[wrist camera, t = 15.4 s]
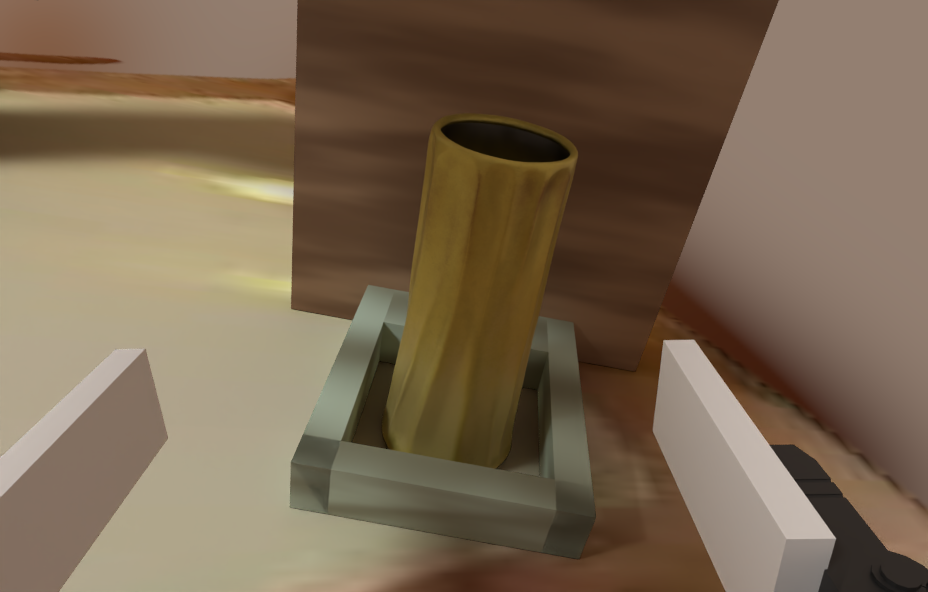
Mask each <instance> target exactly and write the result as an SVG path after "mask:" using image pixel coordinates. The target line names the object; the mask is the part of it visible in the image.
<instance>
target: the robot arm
mask: <svg viewBox="0 0 928 592" xmlns="http://www.w3.org/2000/svg"><path fill="white" fill-rule="evenodd" d="M653 433H654V435H655V437H656V440H657V442H658V444H659V446H660V448H661V451H662V453H663V455H664V457H665V459H666V462H667V464H668V466H669V468H670V470H671V473H672V475H673V477H674V479H675V481H676V484H677V486H678V488H679V490H680V492H681V495H682V497H683V499H684V501H685V503H686V506H687V508H688V510H689V512H690V514H691V517H692V519H693V521H694V523H695V525H696V528H697V530H698V532H699V534H700V536H701V539H702V541H703V543H704V545H705V547H706V550H707V552H708V554H709V556H710V558H711V561H712V563H713V565H714V567H715V569H716V572H717V574H718V576H719V578H720V580H721V583H722V585H723V587H724V589H725V591H726V592H928V569H927V568H926V567H924V566H923V565H921V564H919V563H917V562H916V561H914V560H912V559H910V558H908V557H906V556H904V555H900V554H897V553H894V552H891V551H888V550H887V549H886V548H885V546H884V545H883V544H882V543H881V541H880V540H879V539H878V538H877V536H876V535H875V534H874V533H873V531H872V530H871V529H870V528H869V526H868V525H867V524H866V523H865V521H864V520H863V519H862V517H861V516H860V515H859V514H858V512H857V511H856V510H855V509H854V507H853V506H852V505H851V504H850V502H849V501H848V500H847V499H846V498H843V494H842V492H841V491H840V490H839V489H838V487H837V486H836V485H835V484H834V482H831V479H830V477H829V476H828V475H827V473H826V472H825V471H824V470H823V468H822V467H821V466H820V465H819V463H818V462H817V461H816V460H815V459H813V458H812V457H810V456H809V455H808V454H806V453H805V452H803V451H802V450H800V449H799V448H798V447H796V446H795V445H769V444H768V443H767V441H766V440H765V438H764V437H763V436H762V434H761V433H760V431H759V430H758V429H757V427H756V426H755V424H754V423H753V422H752V420H751V419H750V417H749V416H748V415H747V413H746V412H745V410H744V409H743V408H742V406H741V405H740V403H739V402H738V401H737V399H736V398H735V396H734V395H733V394H732V392H731V391H730V389H729V388H728V387H727V385H726V384H725V382H724V381H723V380H722V378H721V377H720V375H719V374H718V373H717V371H716V370H715V368H714V367H713V366H712V364H711V363H710V361H709V360H708V359H707V357H706V356H705V354H704V353H703V352H702V350H701V349H700V347H699V346H698V345H697V343H696V342H695V340H664V341H663V349H662V357H661V365H660V374H659V382H658V390H657V398H656V407H655V415H654V423H653ZM167 439H168V436H167V432H166V428H165V424H164V420H163V416H162V412H161V408H160V404H159V400H158V396H157V392H156V388H155V384H154V381H153V377H152V373H151V369H150V365H149V361H148V357H147V353H146V349H115V350H114V351H113V352H112V353H111V354H110V355H109V356H108V357H107V358H105V359H104V360H103V361H102V362H101V363H100V364H99V365H98V366H97V367H96V368H95V369H94V370H93V371H92V372H91V373H90V374H88V375H87V376H86V377H85V378H84V379H83V380H82V381H81V382H80V383H79V384H78V385H77V386H76V387H75V388H74V389H72V390H71V391H70V392H69V393H68V394H67V395H66V396H65V397H64V398H63V399H62V400H61V401H60V402H59V403H58V404H57V405H55V406H54V407H53V408H52V409H51V410H50V411H49V412H48V413H47V414H46V415H45V416H44V417H43V418H42V419H41V420H39V421H38V422H37V423H36V424H35V425H34V426H33V427H32V428H31V429H30V430H29V431H28V432H27V433H26V434H25V435H24V436H22V437H21V438H20V439H19V440H18V441H17V442H16V443H15V444H14V445H13V446H12V447H11V448H10V449H9V450H8V451H6V452H5V453H4V454H3V455H2V456H1V457H0V592H59V591H60V589H61V588H62V586H63V585H64V584H65V582H66V581H67V579H68V578H69V577H70V575H71V574H72V572H73V571H74V570H75V568H76V567H77V565H78V564H79V563H80V561H81V560H82V558H83V557H84V556H85V554H86V553H87V551H88V550H89V548H90V547H91V546H92V544H93V543H94V541H95V540H96V539H97V537H98V536H99V534H100V533H101V532H102V530H103V529H104V527H105V526H106V525H107V523H108V522H109V520H110V519H111V518H112V516H113V515H114V513H115V512H116V511H117V509H118V508H119V506H120V505H121V504H122V502H123V501H124V499H125V498H126V497H127V495H128V494H129V492H130V491H131V489H132V488H133V487H134V485H135V484H136V482H137V481H138V480H139V478H140V477H141V475H142V474H143V473H144V471H145V470H146V468H147V467H148V466H149V464H150V463H151V461H152V460H153V459H154V457H155V456H156V454H157V453H158V452H159V450H160V449H161V447H162V446H163V445H164V443H165V442H166V440H167Z"/></svg>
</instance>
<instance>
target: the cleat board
mask: <svg viewBox="0 0 928 592" xmlns="http://www.w3.org/2000/svg"><path fill="white" fill-rule="evenodd" d="M778 1H779V0H298V9H297V10H298V11H297V57H296V58H297V59H296V61H297V62H296V104H295V152H294V200H293V247H292V295H291V309H296V310H302V311H307V312H313V313H318V314H324V315H329V316H335V317H340V318H345V319H351V320H353V321H352V323H351V325H350V328H349V330H348V332H347V335H346V337H345V339H344V342H343V344H342V346H341V348H340V351H339V353H338V355H337V358H336V360H335V362H334V365H333V367H332V369H331V371H330V374H329V376H328V378H327V381H326V383H325V385H324V387H323V390H322V392H321V394H320V397H319V399H318V401H317V404H316V406H315V408H314V410H313V413H312V415H311V417H310V420H309V422H308V424H307V427H306V429H305V431H304V433H303V436H302V438H301V440H300V443H299V445H298V447H297V450H296V452H295V454H294V456H293V459H292V461H291V481H290V507H291V508H297V509H302V510H308V511H313V512H319V513H324V514H330V515H336V516H341V517H347V518H352V519H358V520H363V521H369V522H374V523H380V524H386V525H391V526H397V527H402V528H408V529H413V530H419V531H424V532H430V533H436V534H441V535H447V536H452V537H458V538H463V539H469V540H474V541H480V542H486V543H491V544H497V545H502V546H508V547H513V548H519V549H524V550H530V551H536V552H541V553H547V554H552V555H558V556H563V557H569V558H574V559H579V558H580V555H581V553H582V551H583V548H584V546H585V543H586V541H587V538H588V536H589V533H590V531H591V528H592V526H593V524H594V521H595V519H596V513H595V504H594V495H593V487H592V478H591V470H590V461H589V452H588V444H587V435H586V426H585V418H584V409H583V401H582V392H581V383H580V375H579V366H578V361H580V362H586V363H591V364H597V365H602V366H608V367H613V368H619V369H624V370H629V371H636V369H637V366H638V363H639V361H640V358H641V356H642V353H643V351H644V348H645V345H646V343H647V340H648V338H649V335H650V332H651V330H652V327H653V325H654V322H655V319H656V317H657V314H658V312H659V309H660V306H661V304H662V301H663V299H664V296H665V293H666V291H667V288H668V286H669V283H670V281H671V278H672V275H673V273H674V270H675V267H676V265H677V262H678V259H679V257H680V255H681V252H682V249H683V247H684V244H685V242H686V239H687V237H688V234H689V231H690V229H691V226H692V224H693V221H694V218H695V216H696V213H697V210H698V208H699V205H700V203H701V200H702V198H703V195H704V193H705V190H706V187H707V185H708V182H709V180H710V177H711V174H712V172H713V169H714V167H715V164H716V161H717V159H718V156H719V153H720V151H721V149H722V146H723V143H724V140H725V138H726V135H727V133H728V130H729V128H730V125H731V123H732V120H733V117H734V115H735V112H736V110H737V107H738V104H739V102H740V99H741V97H742V94H743V91H744V89H745V86H746V84H747V81H748V79H749V76H750V73H751V71H752V68H753V66H754V63H755V60H756V58H757V55H758V53H759V50H760V47H761V45H762V42H763V40H764V37H765V34H766V32H767V29H768V27H769V24H770V22H771V19H772V16H773V14H774V11H775V9H776V6H777V3H778ZM462 113H475V114H488V115H497V116H504V117H509V118H514V119H518V120H522V121H526V122H529V123H532V124H536V125H539V126H541V127H544V128H547V129H549V130H552V131H554V132H556V133H558V134H560V135H562V136H564V137H565V138H567V139H568V140H569V141H571V142H572V143H573V145H574V146H575V147H576V149H577V151H578V159H577V163H576V167H575V172H574V176H573V180H572V184H571V187H570V191H569V195H568V198H567V202H566V206H565V209H564V213H563V217H562V221H561V225H560V229H559V232H558V236H557V240H556V244H555V248H554V252H553V257H552V261H551V265H550V270H549V274H548V278H547V282H546V287H545V291H544V296H543V300H542V305H541V309H540V313H539V317H538V321H537V325H536V329H535V333H534V336H533V340H532V345H531V350H530V354H529V358H528V363H527V367H526V371H525V376H524V381H523V385H522V387H525V388H531V389H536V390H538V427H539V471H540V477H538V476H533V475H527V474H522V473H516V472H511V471H505V470H500V469H494V468H489V467H483V466H478V465H472V464H467V463H461V462H455V461H450V460H444V459H439V458H433V457H428V456H422V455H417V454H411V453H406V452H400V451H395V450H389V449H384V448H378V447H373V446H367V445H362V444H356V443H352V440H353V437H354V434H355V431H356V428H357V425H358V422H359V419H360V416H361V413H362V410H363V407H364V404H365V401H366V398H367V395H368V392H369V389H370V387H371V384H372V381H373V378H374V375H375V372H376V369H377V366H378V363H379V361H383V362H388V363H394V364H396V360H397V355H398V351H399V347H400V342H401V338H402V334H403V330H404V326H405V321H406V317H407V309H408V300H409V288H410V278H411V269H412V262H413V255H414V248H415V241H416V234H417V227H418V220H419V212H420V204H421V196H422V188H423V181H424V173H425V166H426V157H427V148H428V141H429V136H430V133H431V130H432V127H433V125H434V124H435V122H437V121H438V120H439V119H441V118H443V117H445V116H448V115H454V114H462Z"/></svg>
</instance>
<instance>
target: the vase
mask: <svg viewBox="0 0 928 592" xmlns="http://www.w3.org/2000/svg"><path fill="white" fill-rule="evenodd" d="M577 159H578V151H577V149H576V147H575V146H574V145H573V143H572V142H571V141H569V140H568V139H567V138H565V137H564V136H562V135H560V134H558V133H556V132H554V131H552V130H549V129H547V128H544V127H541V126H539V125H536V124H532V123H529V122H526V121H522V120H518V119H514V118H509V117H504V116H497V115H488V114H475V113H462V114H454V115H448V116H445V117H443V118H441V119H439V120H438V121H437V122H435V124H434V125H433V127H432V130H431V133H430V136H429V141H428V148H427V157H426V166H425V173H424V181H423V188H422V196H421V204H420V212H419V220H418V227H417V234H416V241H415V248H414V255H413V262H412V269H411V278H410V288H409V300H408V309H407V317H406V321H405V326H404V330H403V334H402V338H401V342H400V347H399V351H398V355H397V360H396V364H395V367H394V372H393V377H392V381H391V386H390V390H389V395H388V399H387V403H386V408H385V411H384V413H383V417H382V433H383V437H384V440H385V442H386V444H387V446H388V448H389V449H390V450H395V451H400V452H406V453H411V454H417V455H422V456H428V457H433V458H439V459H444V460H450V461H455V462H461V463H467V464H472V465H478V466H483V467H489V468H494V469H496V468H497V467H498V466H499V465H500V464H501V463H502V462H503V461H504V460H505V459H506V457H507V456H508V454H509V451H510V449H511V444H512V432H513V426H514V421H515V416H516V411H517V407H518V402H519V398H520V393H521V389H522V385H523V381H524V376H525V371H526V367H527V363H528V358H529V354H530V350H531V345H532V340H533V336H534V333H535V329H536V325H537V321H538V317H539V313H540V309H541V305H542V300H543V296H544V291H545V287H546V282H547V278H548V274H549V270H550V265H551V261H552V257H553V252H554V248H555V244H556V240H557V236H558V232H559V229H560V225H561V221H562V217H563V213H564V209H565V206H566V202H567V198H568V195H569V191H570V187H571V184H572V180H573V176H574V172H575V167H576V163H577Z"/></svg>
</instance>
